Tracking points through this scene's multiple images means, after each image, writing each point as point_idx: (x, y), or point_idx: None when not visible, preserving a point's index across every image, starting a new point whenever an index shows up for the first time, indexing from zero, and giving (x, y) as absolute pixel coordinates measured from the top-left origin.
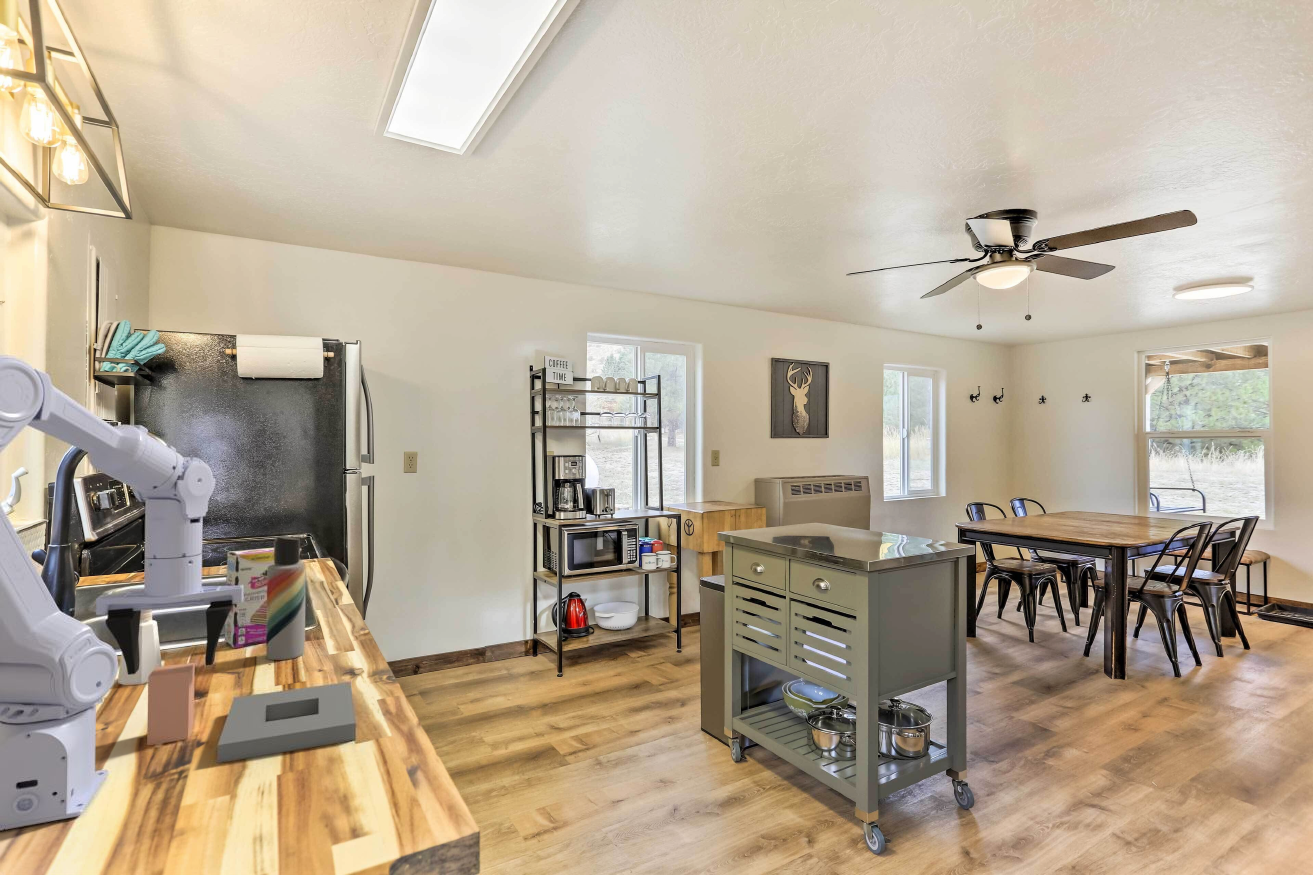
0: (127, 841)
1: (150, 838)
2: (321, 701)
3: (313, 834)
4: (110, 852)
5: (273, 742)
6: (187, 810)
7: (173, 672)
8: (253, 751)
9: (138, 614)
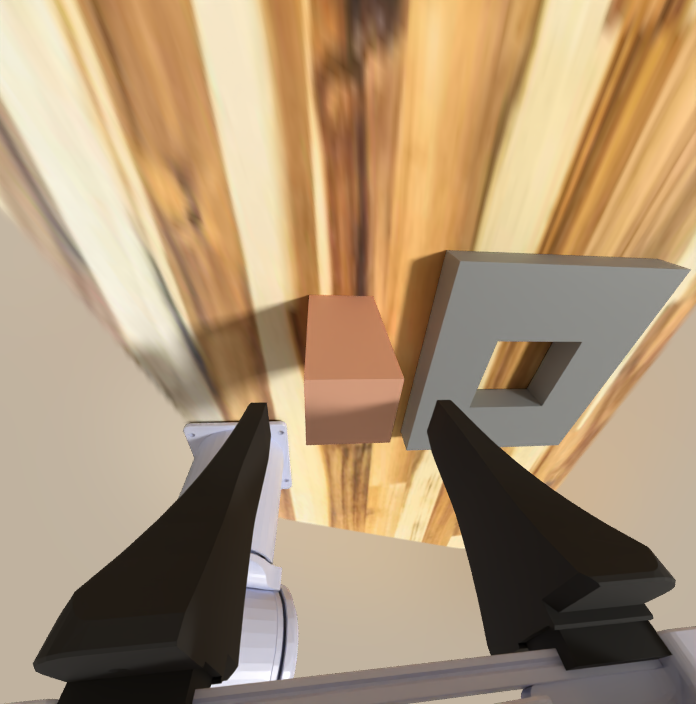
0: (337, 512)
1: (351, 512)
2: (574, 360)
3: (446, 528)
4: (329, 518)
5: None
6: (373, 492)
7: (356, 434)
8: None
9: (208, 618)
